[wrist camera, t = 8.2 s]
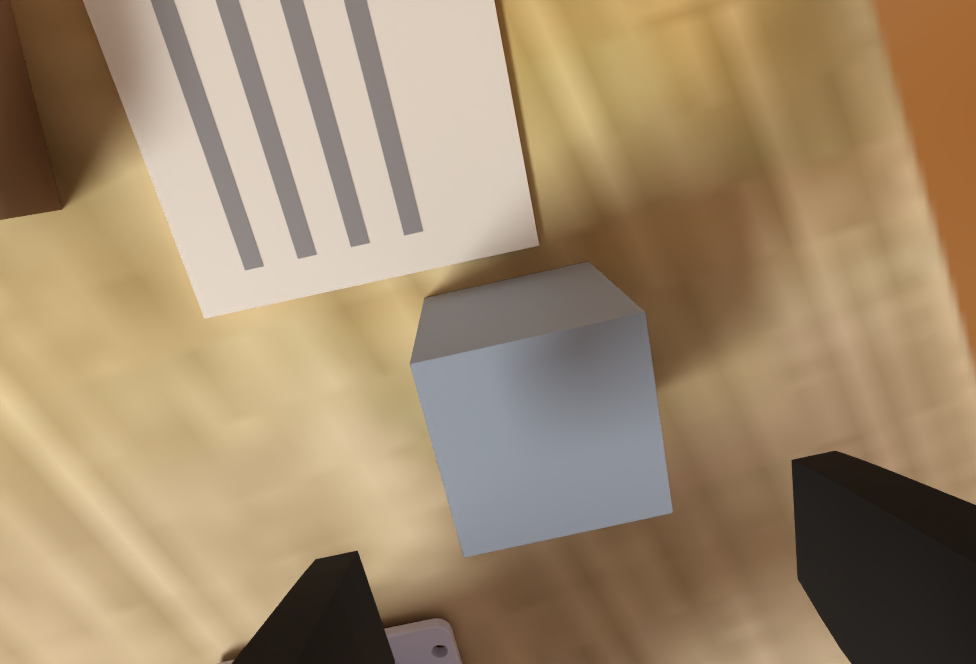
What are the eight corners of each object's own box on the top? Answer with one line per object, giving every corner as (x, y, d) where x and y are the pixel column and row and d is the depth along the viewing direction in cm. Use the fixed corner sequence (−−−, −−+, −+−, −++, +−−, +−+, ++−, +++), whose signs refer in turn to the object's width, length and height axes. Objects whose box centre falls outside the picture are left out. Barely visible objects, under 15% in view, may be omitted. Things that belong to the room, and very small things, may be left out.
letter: (538, 244, 15) (539, 245, 15) (206, 316, 15) (204, 318, 15) (430, -345, 11) (429, -352, 11) (-6, -241, 12) (-12, -246, 12)
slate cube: (612, 409, 17) (672, 512, 12) (462, 442, 17) (463, 557, 12) (588, 261, 16) (645, 312, 11) (424, 297, 16) (410, 364, 11)
